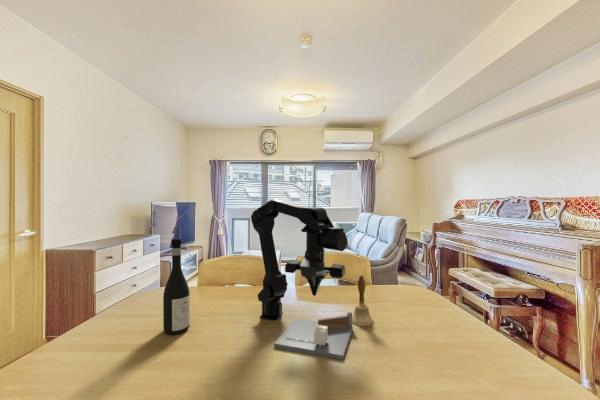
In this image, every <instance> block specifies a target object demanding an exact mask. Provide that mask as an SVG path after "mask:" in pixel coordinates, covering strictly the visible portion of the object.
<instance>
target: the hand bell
mask: <svg viewBox="0 0 600 400" xmlns="http://www.w3.org/2000/svg"><path fill="white" fill-rule="evenodd" d="M357 289H358V292H359V293H358V294H359V299H358V300H359V303H356V304H355V306H354V307H355V309H354V313H352V325H355V326H358V327H371V326H372V325H374V323H375V321H374V318H373V317H371V315H370V311H369V306H368V305H367V304H366V303H365V291H366V280H365V279H364V275H359V277H358V281H357Z"/></svg>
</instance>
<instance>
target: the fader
mask: <svg viewBox="0 0 600 400" xmlns="http://www.w3.org/2000/svg"><path fill="white" fill-rule="evenodd" d="M327 339H328V326H321V325H318V326H317V327H316V329H315V330H314V344H319V345H325V343H326V341H327Z"/></svg>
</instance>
